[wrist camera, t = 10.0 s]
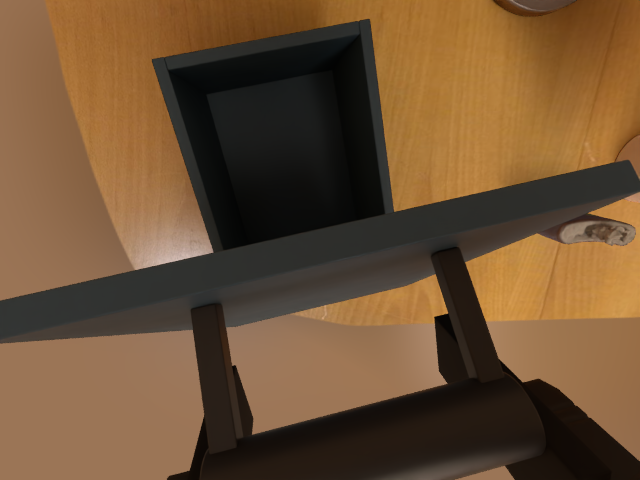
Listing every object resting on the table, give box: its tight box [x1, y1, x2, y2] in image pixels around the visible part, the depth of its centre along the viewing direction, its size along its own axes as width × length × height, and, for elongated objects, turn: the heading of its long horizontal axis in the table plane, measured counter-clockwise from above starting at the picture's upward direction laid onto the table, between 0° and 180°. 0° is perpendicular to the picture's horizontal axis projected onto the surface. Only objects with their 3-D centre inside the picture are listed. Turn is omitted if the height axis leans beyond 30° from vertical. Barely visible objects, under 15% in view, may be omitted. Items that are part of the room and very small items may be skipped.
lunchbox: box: [152, 19, 394, 252], centre depth 30 cm, size 20×15×13 cm
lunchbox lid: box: [0, 160, 640, 480], centre depth 16 cm, size 21×15×6 cm
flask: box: [538, 213, 636, 246], centre depth 37 cm, size 9×3×11 cm, turn 87°
